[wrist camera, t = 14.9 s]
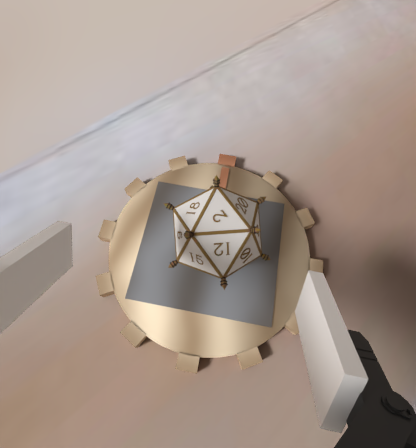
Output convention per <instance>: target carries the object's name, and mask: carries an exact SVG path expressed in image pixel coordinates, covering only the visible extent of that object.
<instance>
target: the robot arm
mask: <svg viewBox="0 0 416 448" xmlns="http://www.w3.org/2000/svg"><path fill="white" fill-rule="evenodd" d="M72 266H73V264H72V225H71V223H67V222H62V221H57V222H56V223H54V224H52V225H51V226H49V227H48V228H46V229H45V230H43V231H41V232H40V233H38V234H37V235H35V236H33V237H32V238H30V239H29V240H27V241H26V242H24V243H22V244H21V245H19V246H18V247H16V248H14V249H13V250H11V251H10V252H8V253H7V254H5V255H3V256H2V257H0V334H1V333H2V332H3V331H4V330H5V329H6V328H7V327H8V326H9V325H10V324H11V323H12V322H13V321H15V320H16V319H17V318H18V317H19V316H20V315H21V314H22V313H23V312H24V311H25V310H26V309H27V308H28V307H29V306H30V305H32V304H33V303H34V302H35V301H36V300H37V299H38V298H39V297H40V296H41V295H42V294H43V293H44V292H45V291H46V290H48V289H49V288H50V287H51V286H52V285H53V284H54V283H55V282H56V281H57V280H58V279H59V278H60V277H61V276H62V275H63V274H65V273H66V272H67V271H68V270H69V269H70V268H71V267H72ZM295 315H296V319H297V324H298V329H299V333H300V338H301V343H302V347H303V352H304V356H305V361H306V366H307V370H308V375H309V379H310V384H311V389H312V393H313V398H314V403H315V407H316V412H317V416H318V421H319V426H320V428H321V429H325V430H330V431H334V432H339V433H342V431H343V429H344V427H345V425H346V423H347V424H348V428H347V430H346V431H345V433H344V434H343V436H342V437H341V438H340V440H339V441H338V443H337V444H336V446H335V447H334V448H416V414H415V412H414V409H413V408H412V406H411V405H410V404H409V403H408V401H407V400H405V399H404V398H403V397H402V396H401V395H399V394H398V393H396V392H394V391H392V388H391V386H390V384H389V382H388V380H387V378H386V376H385V374H384V372H383V370H382V368H381V366H380V364H379V362H377V358H376V356H375V354H373V350H372V348H371V346H370V344H369V342H368V341H367V340H366V339H365V338H364V337H363V335H362V334H361V333H360V332H357V331H352V330H347V328H346V325H345V323H344V321H343V318H342V316H341V314H340V311H339V309H338V307H337V304H336V302H335V300H334V297H333V295H332V293H331V290H330V288H329V286H328V283H327V281H326V279H325V276H324V274H323V273H320V272H315V271H310V270H308V273H307V276H306V279H305V282H304V285H303V288H302V291H301V294H300V297H299V300H298V304H297V307H296V310H295Z"/></svg>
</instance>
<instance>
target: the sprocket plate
mask: <svg viewBox="0 0 416 448" xmlns="http://www.w3.org/2000/svg"><path fill="white" fill-rule="evenodd" d="M235 161H236V157H235V156H229V155H223V154H220V156H219V161H218V164H216V163H201V164H192V165H188V163H187V160H186V158H185V156H182V157H178V158H175V159H171V160H169V166H170V169H171V170H170V171H168V172H166V173H164V174H162V175H159V176H158V177H156V178H154V179H153V180H151V181H150V182H148V183H147V184H145V183H144V182H142V181H141V180H140V179H139V178H136V179H135V180H134V181H133V182H132V183H130V184H129V185H128V186H127V187H126V188H125V191H126V193H127V195H129V196H130V197H131V199H130V200H129V202H128V203H127V204H126V206H125V207H124V209H123V210H122V212H121V214H120V216H119V218H118V219H117V222H114V221H108V220H104V221H103V224H102V227H101V230H100V233H99V236H98V237H99V238H100V239H101V240H102V241H106V242H110V247H109V272H107V273H104V274H101V275H98V276H96V280H97V285H98V289H99V294H100V296H102V297H106V296H109V295H112V294H115V295H116V297H117V300H118V302H119V304H120V306H121V308H122V309H123V311H124V312H125V314H126V315H127V317H128V318H129V319H130V320H131V321H130V323H129V324H128V325H127V326H126V327H125V328H124V329H123V330H122V331H121V332H120V333H121V334H122V335H123V336H124V337H125V338H126V339H127V340H128V341H129V342H130V343H131V344H132V345H133V346H134V347H135V348H136V347H139V346H140V344H141V343H142V342H143V341H144V340H145V339H146V338H147V337H148V338H150V339H151V340H153V341H154V342H156V343H158V344H159V345H161V346H163V347H165V348H167V349H170V350H172V351H174V352H177V353H178V358H177V363H176V368H175V369H177V370H181V371H186V372H191V373H196V374H197V370H198V364H199V359H200V357H202V358H219V357H225V356H232V355H236V356H237V359H238V361H239V364H240V367H241V369H242V370H244V369H246V368H249V367H251V366H254V365H256V364H259V363H261V362H263V361H262V358H261V355H260V353H259V350H258V348H257V346H259V345H261V344H263V343H264V342H266V341H267V340H269V339H270V338H272V337H273V336H274V335H275V334H276V333H277V332H279V331H280V330H281V329H282V328H283V327H285V328H286V329H287V330H288V331H290V332H291V333H292V334H293V335H297V334H298V333H299V329H298V324H297V319H296V315H295V310H296V307H297V304H298V300H299V297H300V294H301V291H302V288H303V285H304V282H305V279H306V276H307V273H308V270H310V271H315V272H320V273H323V260H318V259H313V258H310V252H309V245H308V240H307V236H306V233H305V229H308V228H311V227H312V226H313V225H314V224H315V222H314V220H313V218H312V216H311V215H310V213H309V211H308V209H307V208H304V209H301V210H298V211H295V209H294V208H293V206H292V205H291V204H290V202H289V201H288V200H287V199H286V197H285V196H284V195H283V194H282V193H281V192H280V191H279V190H278V188H279V186H280V185H281V183H282V181H283V180H282V179H281V178H279V177H278V176H276V175H275V174H274V173H272V172H271V171H268V172H267V173H266V174H265V175H264V176H263V177H262V178H261V177H260V176H258V175H256V174H253V173H251V172H249V171H247V170H244V169H241V168H238V167H235ZM216 175H217V176H218V178H219V179H220V184H219V186H220V187H223V188H225V189H228V190H230V191H232V192H235V193H237V194H240V195H242V196H244V197H247V198H249V199H252V200H254V201H257V200H258V198H260V196H261V197H266V199H265V202H262V204H261V203H260V204H259V216H260V229H261V243H262V253H263V254H266V255H269V257H270V259H271V260H266V261H265V260H264V259H262V258H261V257H259V258H257V259H256V260H254V261H252V262H251V263H249V264H248V265H246V266H244V267H243V268H241V269H240V270H238V271H236V272H235V273H233V274H232V275H230V276H228V277H227V278H226V281H227V284H228V285H227V286H226V288H225V290H224V289H223V287H221V285H220V284H221V283H220V281H221V279H220V278H217V277H215V276H212V275H209V274H207V273H204V272H201V271H199V270H196V269H193V268H191V267H188V266H185V265H183V264H180V263H178V264H177V266H175V267H174V268H168V267H169V265H170V262H172V261H175V260H176V251H175V236H174V221H173V210H169V209H168V208H166V206H165V205H164V203H169V202H170V204H172V205H173V206H174V207H175V206H177V205H179V204H181V203H183V202H185V201H187V200H189V199H191V198H192V197H194V196H196V195H198V194H200V193H202V192H204V191H206V190H208V189H210V187H211V186H212V185H213V186H214V184H213V182H214V181H213V179H214V178H215V176H216Z"/></svg>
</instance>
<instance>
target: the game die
mask: <svg viewBox="0 0 416 448" xmlns="http://www.w3.org/2000/svg"><path fill="white" fill-rule="evenodd" d="M213 181H214V182H213V184H214V186H213V185H212V186H211V187H210V189H208V190H206V191H204V192H202V193H200V194H198V195H196V196H194V197H192V198H191V199H189V200H187V201H185V202H183V203H181V204H179V205H177V206H175V207H174V206H173V205H172V204H170V202H169V203H164V205H165V206H166V208H168V209H169V210H173V221H174V236H175V251H176V260H175V261H172V262H170V265H169V267H168V268H174V267H175V266H177V264H178V263H180V264H183V265H185V266H188V267H191V268H193V269H196V270H199V271H201V272H204V273H207V274H209V275H212V276H215V277H217V278H220V279H221V281H220V283H221V284H220V285H221V287H223V289H224V290H225V288H226V286H227V285H228V284H227V281H226V278H227V277H228V276H230V275H232V274H233V273H235V272H236V271H238V270H240V269H241V268H243V267H244V266H246V265H248V264H249V263H251V262H252V261H254V260H256V259H257V258H259V257H261V258H262V259H264V260H265V261H266V260H271V259H270V257H269V255H266V254H263V253H262V243H261V229H260V216H259V204H260V203H261V204H262V202H265V199H266V197H261V196H260V198H258V200H257V201H254V200H252V199H249V198H247V197H244V196H242V195H240V194H237V193H235V192H232V191H230V190H228V189H225V188H223V187H220V186H219V184H220V179H219V178H218V176H217V175H216V176H215V178H214V179H213Z"/></svg>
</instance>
